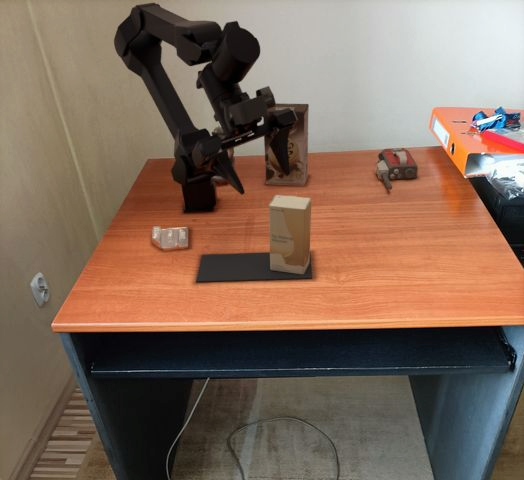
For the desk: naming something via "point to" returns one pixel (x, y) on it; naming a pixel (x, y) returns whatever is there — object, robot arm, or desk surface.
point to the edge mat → (243, 268)
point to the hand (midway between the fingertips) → (266, 184)
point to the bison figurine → (220, 133)
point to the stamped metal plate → (170, 238)
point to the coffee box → (290, 149)
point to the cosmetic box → (289, 233)
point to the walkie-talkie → (396, 165)
